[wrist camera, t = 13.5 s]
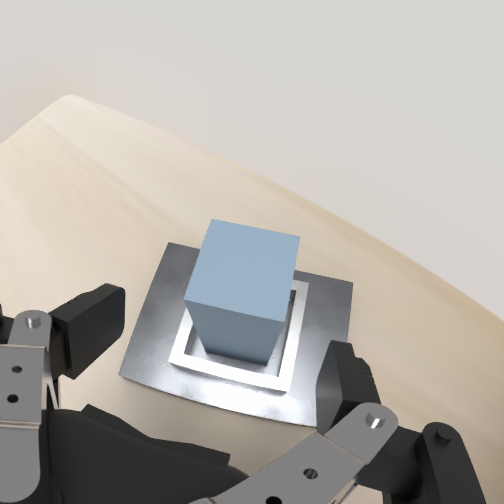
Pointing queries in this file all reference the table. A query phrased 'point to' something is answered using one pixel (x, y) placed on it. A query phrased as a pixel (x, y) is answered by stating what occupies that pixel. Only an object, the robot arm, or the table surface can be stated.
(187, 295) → the peg
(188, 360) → the grey metal socket plate
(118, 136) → the table surface
